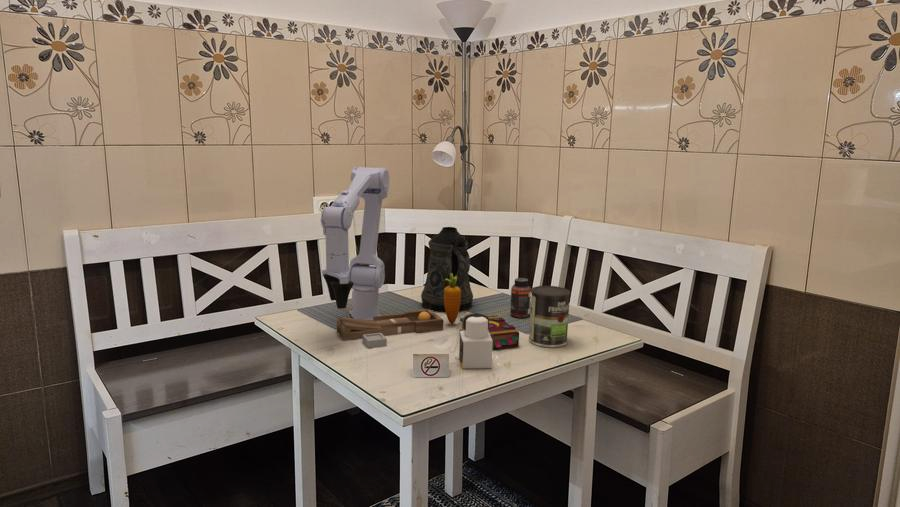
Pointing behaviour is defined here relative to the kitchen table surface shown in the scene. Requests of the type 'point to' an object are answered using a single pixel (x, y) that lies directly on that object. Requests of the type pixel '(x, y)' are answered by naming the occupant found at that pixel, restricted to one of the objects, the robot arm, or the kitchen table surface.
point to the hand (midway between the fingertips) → (338, 303)
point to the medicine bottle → (475, 342)
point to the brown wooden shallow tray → (388, 325)
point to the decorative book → (500, 333)
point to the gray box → (374, 340)
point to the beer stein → (447, 269)
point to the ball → (424, 316)
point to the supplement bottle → (520, 298)
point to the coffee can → (549, 316)
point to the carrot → (452, 299)
